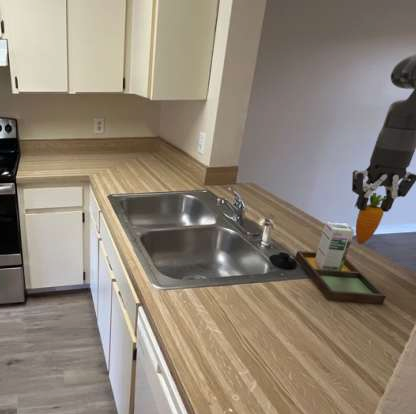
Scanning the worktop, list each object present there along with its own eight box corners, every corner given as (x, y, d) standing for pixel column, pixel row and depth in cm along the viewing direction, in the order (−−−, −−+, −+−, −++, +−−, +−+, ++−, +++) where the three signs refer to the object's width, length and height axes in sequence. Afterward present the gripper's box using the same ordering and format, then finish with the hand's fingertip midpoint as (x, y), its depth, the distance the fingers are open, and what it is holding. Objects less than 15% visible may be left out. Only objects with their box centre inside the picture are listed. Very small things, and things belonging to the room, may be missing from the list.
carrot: (352, 238, 94) (368, 188, 88) (373, 244, 91) (392, 193, 85) (346, 243, 91) (363, 193, 85) (368, 250, 88) (387, 198, 82)
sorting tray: (339, 260, 111) (342, 253, 109) (382, 304, 91) (386, 296, 89) (295, 257, 112) (297, 250, 111) (327, 299, 92) (330, 291, 91)
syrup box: (320, 270, 104) (333, 229, 98) (313, 260, 109) (326, 220, 103) (341, 272, 103) (355, 231, 97) (333, 262, 108) (346, 222, 102)
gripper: (372, 148, 78) (350, 214, 84) (440, 150, 76) (412, 217, 82) (354, 141, 84) (335, 203, 91) (416, 143, 83) (392, 205, 89)
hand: (372, 209), depth 87 cm, fingers closed on carrot, 5 cm apart
